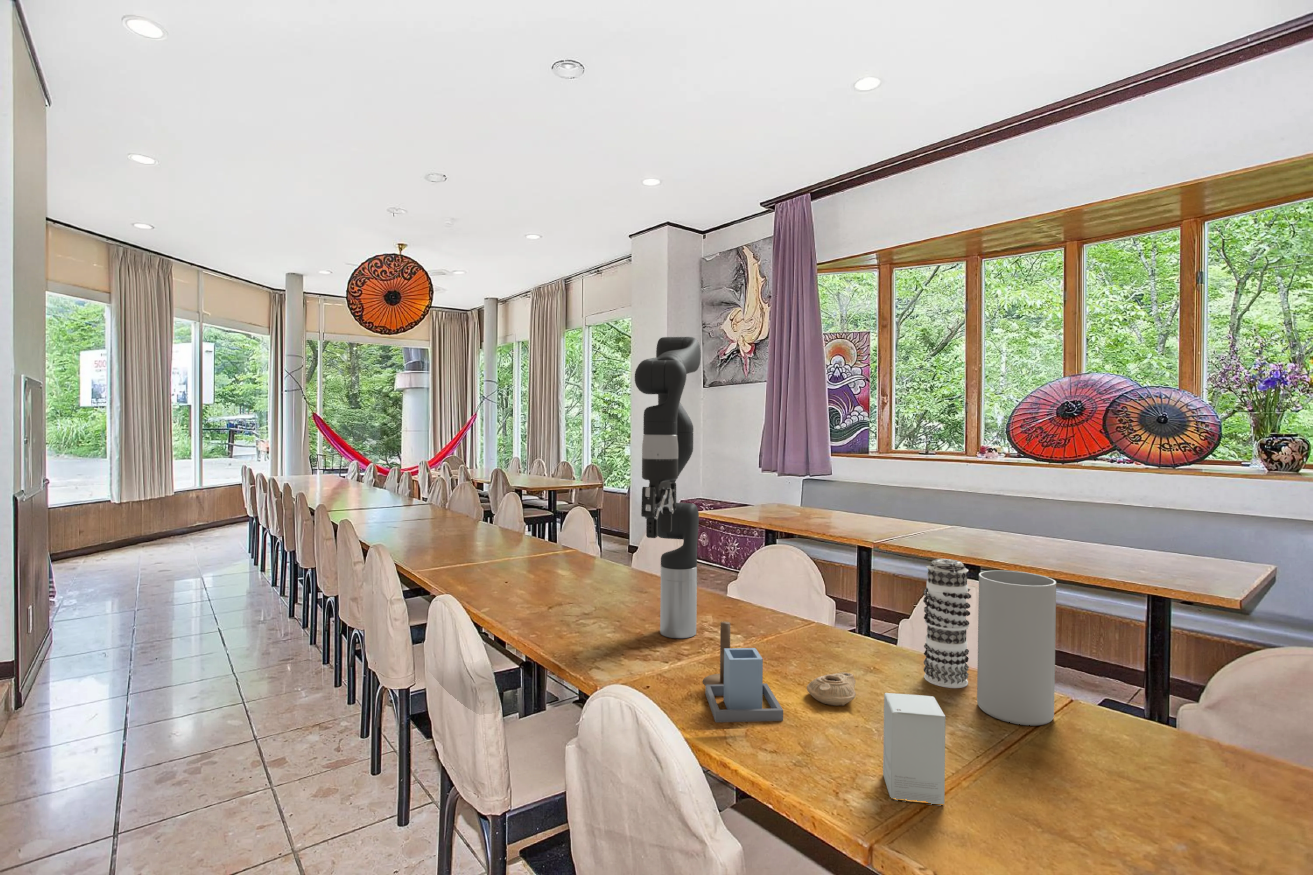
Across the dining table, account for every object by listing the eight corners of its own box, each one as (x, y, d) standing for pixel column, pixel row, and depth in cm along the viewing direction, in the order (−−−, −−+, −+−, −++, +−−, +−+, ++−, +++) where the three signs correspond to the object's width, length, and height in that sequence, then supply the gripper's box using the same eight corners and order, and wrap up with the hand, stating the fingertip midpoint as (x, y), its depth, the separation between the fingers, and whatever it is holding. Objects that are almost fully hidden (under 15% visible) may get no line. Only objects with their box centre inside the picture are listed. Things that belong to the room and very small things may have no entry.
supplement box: (945, 807, 90) (947, 716, 90) (889, 800, 91) (890, 711, 91) (934, 779, 97) (935, 695, 97) (882, 773, 98) (883, 690, 98)
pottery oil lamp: (871, 694, 127) (877, 669, 123) (836, 731, 120) (841, 706, 116) (833, 668, 132) (837, 643, 129) (797, 702, 125) (801, 677, 122)
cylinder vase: (1026, 733, 112) (1028, 589, 112) (962, 705, 123) (964, 574, 123) (1069, 718, 118) (1071, 581, 117) (1004, 693, 129) (1006, 568, 128)
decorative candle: (976, 679, 136) (978, 560, 135) (961, 692, 129) (963, 567, 129) (931, 668, 142) (933, 554, 142) (915, 680, 135) (916, 560, 135)
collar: (723, 701, 122) (724, 648, 122) (754, 700, 123) (755, 647, 122) (729, 715, 116) (729, 659, 116) (762, 714, 117) (762, 659, 116)
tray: (705, 698, 125) (705, 684, 125) (766, 697, 126) (766, 683, 126) (715, 727, 113) (715, 711, 113) (783, 725, 114) (783, 710, 114)
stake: (699, 678, 135) (700, 616, 135) (742, 677, 136) (743, 616, 136) (706, 696, 126) (706, 630, 126) (751, 695, 127) (752, 629, 127)
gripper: (665, 458, 126) (664, 541, 127) (688, 455, 140) (687, 530, 140) (629, 457, 129) (629, 538, 129) (655, 455, 142) (655, 528, 143)
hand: (659, 534), depth 135 cm, fingers open, 8 cm apart
